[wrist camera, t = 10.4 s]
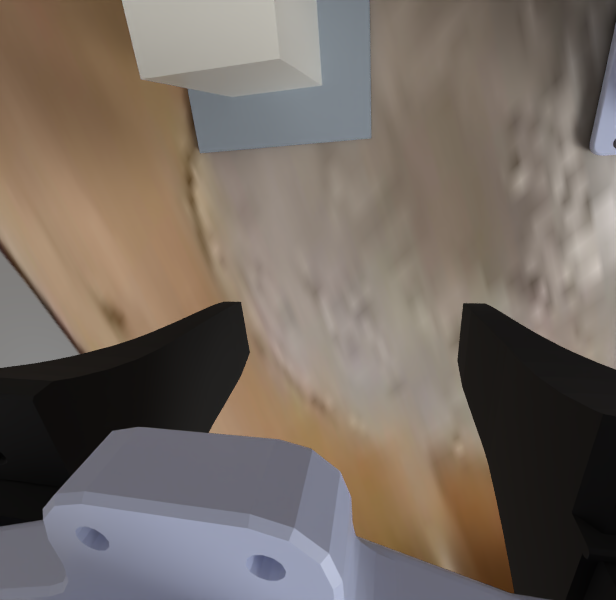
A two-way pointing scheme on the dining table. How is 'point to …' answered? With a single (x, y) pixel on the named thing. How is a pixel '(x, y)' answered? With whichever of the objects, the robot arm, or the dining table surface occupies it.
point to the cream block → (226, 44)
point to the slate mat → (300, 94)
